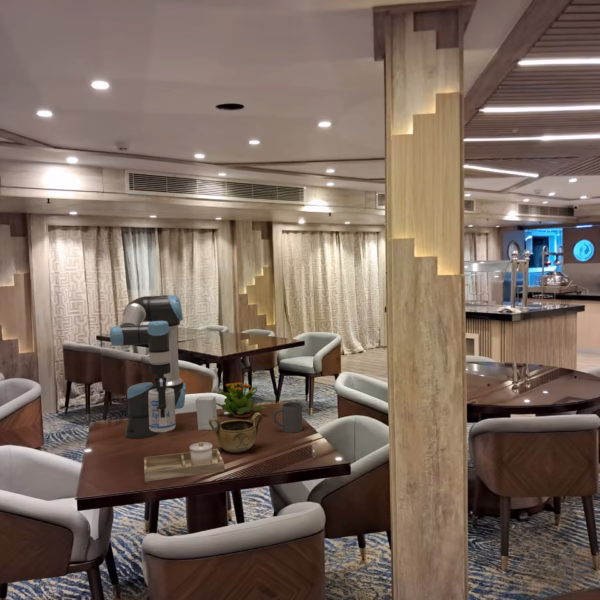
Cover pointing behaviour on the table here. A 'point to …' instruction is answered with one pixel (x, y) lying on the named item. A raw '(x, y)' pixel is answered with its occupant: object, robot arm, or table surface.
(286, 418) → the mug
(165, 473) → the caddy
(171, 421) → the supplement tub
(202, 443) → the sugar pot
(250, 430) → the ceramic bowl
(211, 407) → the skincare box
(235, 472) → the table surface
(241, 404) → the potted flower
